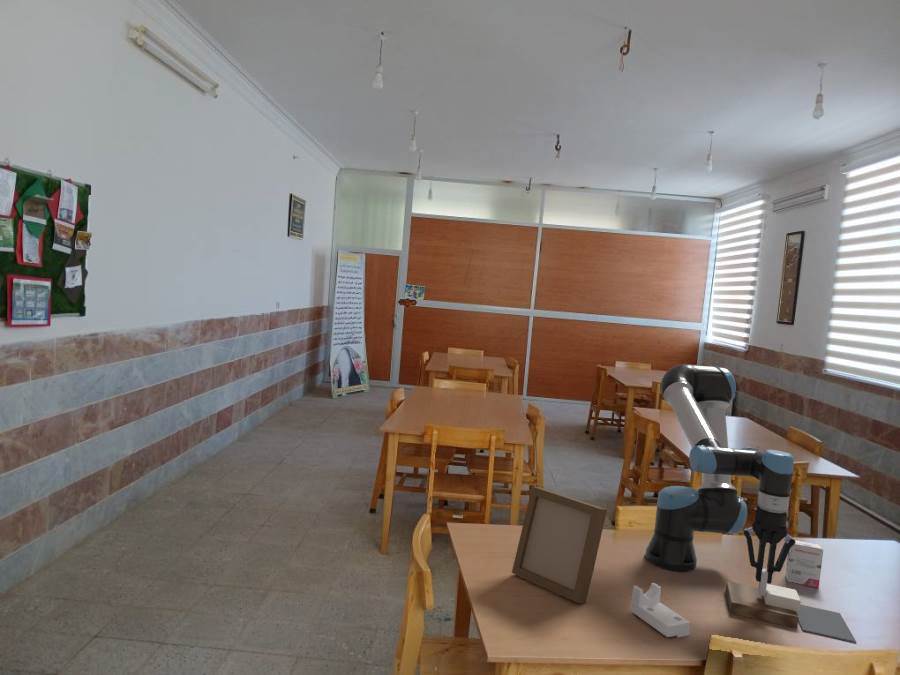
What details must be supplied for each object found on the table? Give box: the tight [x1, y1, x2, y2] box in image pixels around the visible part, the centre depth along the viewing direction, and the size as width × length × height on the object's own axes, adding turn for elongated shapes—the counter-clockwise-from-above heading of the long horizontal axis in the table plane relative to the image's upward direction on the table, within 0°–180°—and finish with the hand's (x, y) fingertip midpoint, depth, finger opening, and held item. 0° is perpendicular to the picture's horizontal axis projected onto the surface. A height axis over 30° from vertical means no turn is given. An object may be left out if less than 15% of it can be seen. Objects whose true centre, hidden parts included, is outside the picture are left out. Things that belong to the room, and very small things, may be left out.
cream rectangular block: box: [763, 583, 801, 612], centre depth 171 cm, size 8×7×3 cm
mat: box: [796, 604, 857, 644], centre depth 168 cm, size 12×16×1 cm
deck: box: [725, 580, 799, 629], centre depth 173 cm, size 16×14×3 cm
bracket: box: [629, 582, 691, 639], centre depth 159 cm, size 13×7×8 cm, turn 25°
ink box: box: [784, 539, 824, 589], centre depth 193 cm, size 9×5×12 cm, turn 71°
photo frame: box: [511, 486, 608, 604], centre depth 177 cm, size 15×22×25 cm
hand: (761, 593), depth 172 cm, fingers closed
